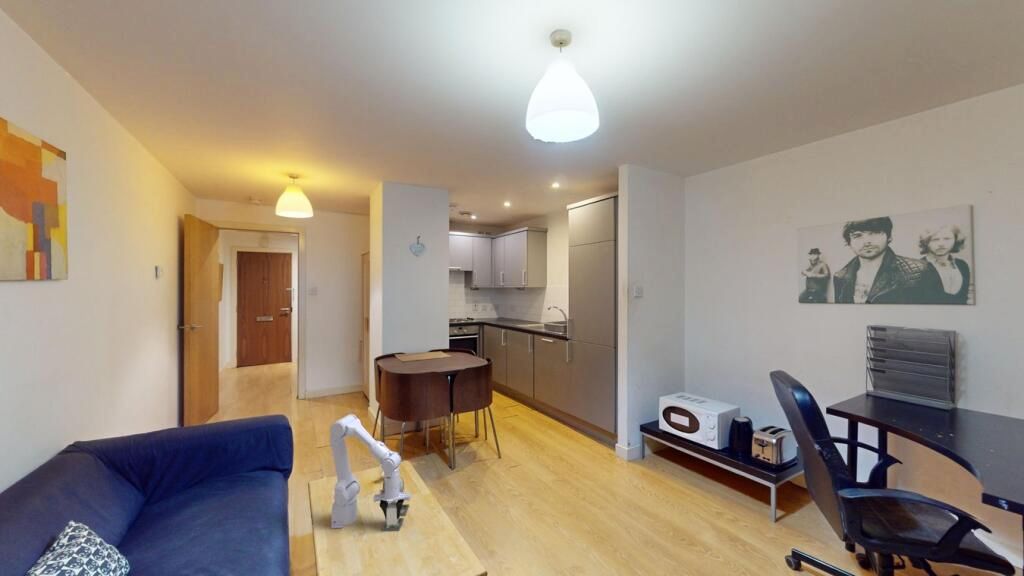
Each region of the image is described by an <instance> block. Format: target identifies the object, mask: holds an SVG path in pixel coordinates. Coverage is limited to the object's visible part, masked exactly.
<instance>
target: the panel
mask: <svg viewBox="0 0 1024 576" xmlns="http://www.w3.org/2000/svg"><path fill="white" fill-rule="evenodd" d="M409 508H410V504H409V503H408V504H407V503H405V504H404V503H403V505H402V508H401V512H400V517H399V520H398V523H397V524H396V525H387V519H385V521H384V523H383V526H382V527H381V530H380V531H381V532H400V530H401V528H402V525H403V523H404V518H403V517H406V515H407V513H408V510H409Z"/></svg>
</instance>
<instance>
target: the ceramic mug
mask: <svg viewBox="0 0 1024 576" xmlns="http://www.w3.org/2000/svg"><path fill="white" fill-rule="evenodd" d="M404 482H405V481H404V479H403V477H402V476H399V492H401V493H403V491H404V490H405V483H404ZM382 491H383V493H385V479H384V480H383V482H382Z"/></svg>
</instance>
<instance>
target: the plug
mask: <svg viewBox="0 0 1024 576" xmlns="http://www.w3.org/2000/svg"><path fill="white" fill-rule="evenodd" d="M397 501H398V500H396V501H393V502H389V503H388V506H387V525H396V524H397V523H398V520H399V519H397V508H396V503H397ZM387 525H386V526H387Z"/></svg>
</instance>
